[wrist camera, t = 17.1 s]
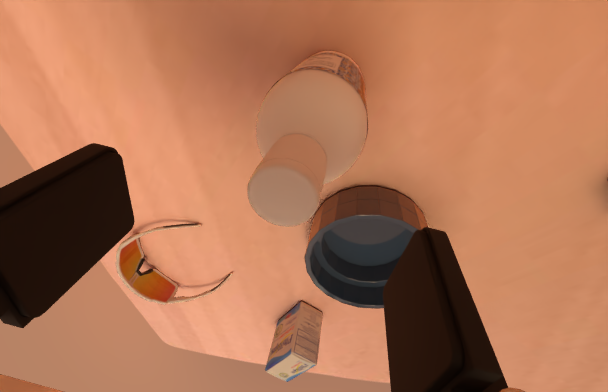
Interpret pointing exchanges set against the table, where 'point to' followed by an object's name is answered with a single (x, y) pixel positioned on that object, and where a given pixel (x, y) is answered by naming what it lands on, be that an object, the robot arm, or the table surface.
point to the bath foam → (307, 136)
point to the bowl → (360, 243)
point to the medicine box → (295, 342)
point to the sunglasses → (150, 272)
